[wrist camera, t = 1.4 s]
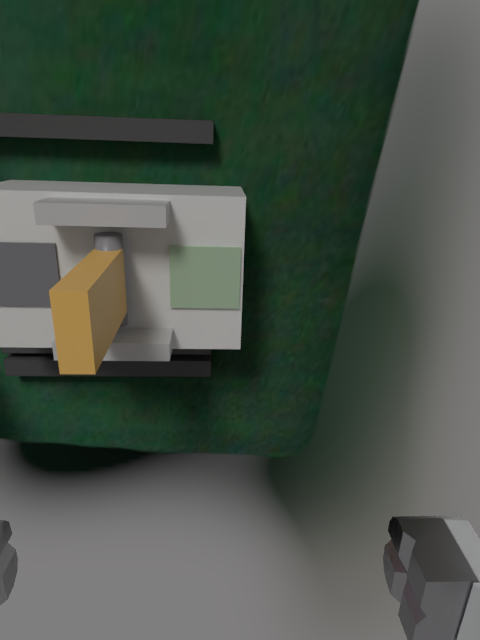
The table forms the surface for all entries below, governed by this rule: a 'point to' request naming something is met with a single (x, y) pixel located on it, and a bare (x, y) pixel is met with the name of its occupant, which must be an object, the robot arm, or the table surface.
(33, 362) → the dark grey flat bar
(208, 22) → the table surface
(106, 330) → the lever
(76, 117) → the dark grey long bar
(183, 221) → the white slotted housing
